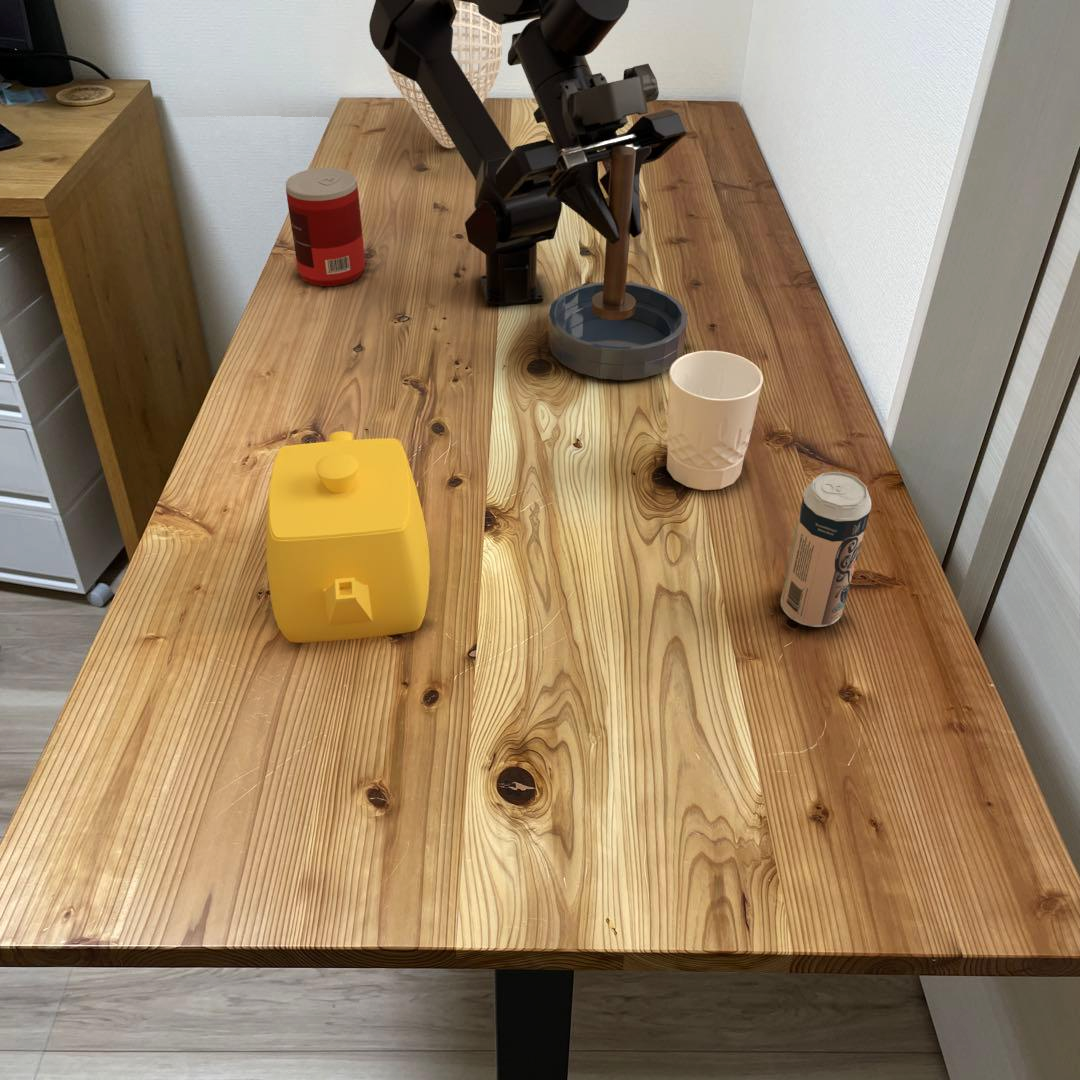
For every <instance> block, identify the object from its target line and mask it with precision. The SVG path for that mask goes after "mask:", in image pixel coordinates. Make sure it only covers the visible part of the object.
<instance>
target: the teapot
mask: <svg viewBox="0 0 1080 1080" xmlns="http://www.w3.org/2000/svg"><path fill="white" fill-rule="evenodd" d="M268 488H269V489H268V497H267V508H266V524H265V526H266V527H265V557H266V559H265V560H266V569H267V570H266V571H267V580H268V588H269V596H270V601H271V606H272V612H273V616H274V619H275V622H276V624H277V627H278V629H279V630H280V632H281V634H282V635H283V636H284V638H286V639H287V641H288V642H290V643H299V644H300V643H321V642H333V641H334V642H336V641H347V640H359V639H369V638H378V637H385V636H387V637H388V636H395V635H401V634H409V633H412V632H416V631H418V630H419V629H420V627H421V626H422V624H423V621H424V618H425V615H426V613H427V612H426V611H427V607H428V600H429V594H430V593H429V592H430V579H431V559H430V558H431V557H430V547H429V538H428V533H427V527H426V522H425V518H424V517H425V516H424V513H423V509H422V505H421V501H420V497H419V493H418V489H417V486H416V483H415V479H414V475H413V472H412V470H411V466H410V463H409V460H408V457H407V454H406V451H405V448H404V446H403V444H402V442H401V441H400V440H399V439H397V438H396V437H395V438H394V437H388V438H386V437H385V438H361V439H355V436H354V434H353V433H352V432H350V431H346V430H340V431H335V432H332V433H330V434H329V436H328V440H327V441H319V442H310V443H309V442H308V443H301V444H300V443H299V444H290V445H283V446H282V447H281V448H279V450H278V451H277V453H276V455H275V458H274V460H273V464H272V469H271V475H270V481H269V487H268Z"/></svg>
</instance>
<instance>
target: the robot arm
mask: <svg viewBox="0 0 1080 1080" xmlns="http://www.w3.org/2000/svg"><path fill="white" fill-rule="evenodd" d="M458 1H464V2H469V3H474V4H476V5H477V6H478V9H477V10H478V14H481V15H482V16H484V17H486V18H488V19H489V20H491V21H493V22H495V23H496V25H497V24H499V25H502V26H503V25H506V24H511V23H512V24H513V23H519V22H523V21H529V20H531V21H530V22H528V23H527V24H526V25H525V26H524V28H523V29H522V30H521V32H517V33H513V34H512V35H511V45H510V47H509V50H508V52H507V60H506V61H507V64H508V66H510V67H512V66H517V65H521V67H522V71H523V72H524V75H525V77H526V80H527V82H528V84H529V87H530V89H531V92H532V94H533V96H534V99H535V101H536V103H537V108H536V109H535V111H534V112H533V117H534V120H535V122H536V124H541V123H545V125H546V128H547V130H548V132H549V135H550V137H551V140H552V141H551V140H549V139H548V138H546V139H542V140H538V141H532V142H530V143H525V144H521V145H518V146H515V147H514V148H513V149H512V148H511V146H510V145H509V143H508V142H507V140H506V139H505V137H504V135H503V133H502V132H501V130H500V128H498V126H497V123H495V120H494V119H493V118H492V116H491V115H490V113H489V111H488V110H487V108H486V106H485V105H484V102H483V103H482V102H481V100H480V98H479V97H478V95H477V92H475V90H474V89H473V88H474V86H473V87H472V85H471V84H470V82H469V80H468V79H467V77H466V76H465V74H464V73H463V72H464V71H463V68H462V69H461V68H460V66H459V64H458V63H457V61H456V60H457V59H456V58H455V56H454V54H453V51H452V47H453V44H452V40H453V38H454V36H453V33H454V28H453V26H452V24H453V22H455V20H454V19H455V17H457V10H456V7H457V6H456V4H454V1H453V0H375V1H374V4H373V8H372V11H371V15H370V19H369V24H368V27H369V28H368V29H369V35H370V39H371V42H372V45H373V47H374V48H375V49H376V50H377V51H378V53H379V54H380V55H381V57H382V58H383V59H384V61H385V60H386V61H385V63H386V62H387V63H388V64H389V66H390V67H391V68H392V69H393V70H394V71H396V72H398V73H400V74H402V75H404V76H406V77H407V78H409V79H408V80H410V79H411V80H413V81H415V82H416V83H417V86H418V87H419V90H422V92H423V94H424V95H425V97H426V99H427V100H428V102H429V103H430V105H431V108H432V110H434V112H435V113H436V115H437V117H438V118H439V122H441V123H442V125H443V127H444V128H445V130H446V131H445V130H444V131H445V132H447V133H448V135H449V136H448V138H451V141H452V142H453V143H454V145H455V146H456V147H455V148H456V150H457V151H458V153H459V155H460V156H461V159H462V160H463V162H464V163H465V165H466V166H467V168H468V170H469V171H470V173H471V175H472V176H473V179H474V180H475V191H474V204H473V205H474V208H475V210H474V211H472V213H471V214H470V215H469V217H468V218H467V219H466V220H465V222H464V228H465V231H466V236H467V241H468V242H469V243H470V245H472V246H473V247H475V249H477V250H479V251H480V252H482V253H483V254H484V255H485V275H481V276H479V282H480V286H481V289H482V293H483V296H484V300H485V303H486V305H488V307H489V306H490V307H493V306H505V305H518V304H529V303H530V304H532V303H542V302H544V300H545V296H544V293H543V290H542V287H541V285H540V282H539V279H538V277H537V276H538V274H537V272H538V266H537V263H538V243H540V242H545V241H550V240H554V239H555V236H556V233H557V228H558V225H559V222H560V217H561V214H562V209H563V204H564V205H565V206H566V207H568V208H569V209H571V210H572V211H573V212H575V213H576V214H577V215H578V216H580V217H581V218H582V219H583V220H584V221H586V223H588V224H589V226H591V227H592V228H593V229H594V230H595V231H596V232H598V233H599V234H600V235H601V236H602V237H603V238H604V239H605V240H606V239H607V240H608V241H609V242H610V243H611V244H615V243H616V242H618V241H619V239H620V237H619V234H618V230H617V227H616V224H615V221H614V219H613V216H612V214H611V212H610V209H609V207H608V202H607V200H606V198H605V195H604V192H605V193H606V195H607V197H608V198H609V183H610V166H611V150H612V148H614V147H616V146H629V147H632V148H634V149H635V150H636V157H635V171H634V184H633V198H632V211H631V225H630V237H632V238H637V237H638V236H640V235H641V234H642V222H641V221H642V219H641V218H642V217H641V202H640V174H641V170H642V166H643V165H646V164H649V163H652V162H653V163H654V162H655V161H657V160H659V159H661V158H662V157H663V156H664V155H665V154H666V153H667V152H669V151H670V150H671V149H672V148H673V147H674V146H675V145H676V144H678V142H679V141H681V140H682V139H683V138H684V137H685V136H686V135H687V134H688V131H687V128H686V127H685V124H684V121H683V119H682V117H681V115H680V113H679V112H677V111H675V110H672V109H669V108H668V109H665V110H662V111H657V112H653V113H649V109H648V103H650V102H653V101H657V100H658V98H659V94H660V91H659V90H660V89H659V85H658V81H657V78H656V76H655V74H654V71H653V70H652V68H651V66H650V64H649V63H644V64H639V65H635V66H632V67H629V68H625V69H624V70H623V79H619V80H615V81H611V82H608V81H607V78H606V76H605V75H603V73H602V72H598V73H594V74H593V73H592V69H591V67H590V65H589V63H588V60H587V57H586V56H587V55H590V54H592V53H593V52H594V51H595V50H596V49H597V48H598V46H599V45H600V44H601V43H602V42H603V41H604V39H605V38H606V37H607V36H608V34H609V33H610V32H611V31H612V29H613V28H614V27H615V26H616V25H617V23H618V22H619V20H620V19H621V18H622V17H623V15H624V14H625V13H626V12H627V10H628V7H629V3H630V0H458ZM648 113H649V114H648ZM636 114H637V115H638V116H641V115H642V116H641V117H640V118H639V119H638V120H637V121H636V122H635V123H633V125H632V126H630V128H629V129H628V130H627V131H626V132H624V133H620V134H618V133H617V131H618V130H619V129H623V128H624V127H625V126H626V125H627V124H628V123H629V120H628V116H629V117H630V116H632V115H636ZM600 162H601V163H602V165H603V168H604V171H605V174H603V176H601V178H599V163H600ZM600 184H601V186H602V187H601V186H600ZM602 188H603V189H604V192H603V191H602Z"/></svg>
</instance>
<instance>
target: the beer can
mask: <svg viewBox="0 0 1080 1080" xmlns="http://www.w3.org/2000/svg"><path fill="white" fill-rule="evenodd" d="M871 510H872V499H871V496H870V493H869V491H868V486H867V485H866V484H865V483H864V482H862V481H861V480H860V479H859V478H858V477H857V476H855V475H851V474H848V473H845V472H843V471H842V472H841V471H832V472H822V473H821V474H819V475H818V476H817V477H815V478H813V479H812V481H811V482H810V483H809V484H808V485H806V487H805V489H803V495H802V500H801V505H800V510H799V514H798V518H797V523H796V529H795V531H794V537H793V542H792V547H791V551H790V556H789V561H788V565H787V570H786V574H785V579H784V584H783V587H782V593H781V597H780V606H781V609H782V611H783V612H784V613H785V614H786V615H787V617H788V618H790V619H791V620H792V621H794V622H796V623H799V624H800V625H803V626H808V627H810V628H822V627H829V626H831V625H833V624H835V623H837V621H839V620H840V619H841V618H842V616H843V612H844V609H845V605H846V602H847V597H848V594H849V590H850V586H851V583H852V579H853V575H854V572H855V567H856V564H857V560H858V557H859V554H860V549H861V547H862V542H863V539H864V535H865V531H866V527H867V523H868V520H869V516H870V514H871Z"/></svg>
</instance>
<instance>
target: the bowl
mask: <svg viewBox="0 0 1080 1080" xmlns="http://www.w3.org/2000/svg"><path fill="white" fill-rule="evenodd" d="M603 285H604V281H603V282H592V283H588V284H584V285H583V284H582V285H578V286H576V287H573V288H571V289H569V290H567V291H565V292H563V293H561V294H560V295H558V297H557V298H555V300H554V301H553V302H552V303H551V305H550V308H549V311H548V334H547V338H548V340H547V341H548V342H547V345H548V346H549V349H550V352H551V354H552V356H553V357H554V358H555V359H556V360H557V361H558V362H559V363H560V364H561V365H562V366H564V367H567V368H568V369H570V370H573V371H574V372H576V373H577V374H582V375H585V376H589V377H593V378H597V379H602V380H603V379H604V380H615V381H629V380H640V379H645V378H648V377H652V376H656V375H659V374H662V373H664V372H666V371H667V370H670V367H671V365H672V364H673V363H674V361H676V360H677V359H678V358H680V357H682V356H684V354H685V353H684V351H685V343H686V334H687V326H688V313H687V311H686V310H685V309H686V308H685V307H684V306H683V304H682V303H681V302H680V301H679V300H677V299H676V298H674V296H673V295H671V294H670V293H667V292H664V291H662V290H660V289H658V288H657V287H653V286H649V285H645V284H640V283H635V282H626V293H628V294H630V295H632V296H633V297H634V298H635V300H636V307H635V313H634V314H633V315H632V316H631V317H629V318H627V319H624V320H606V319H602V318H599V317H597V316H596V315H594V314H593V312H592V311H591V300H592V297H593V296H594V295H595V294H597V293H599V292H602V291H603Z"/></svg>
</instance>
